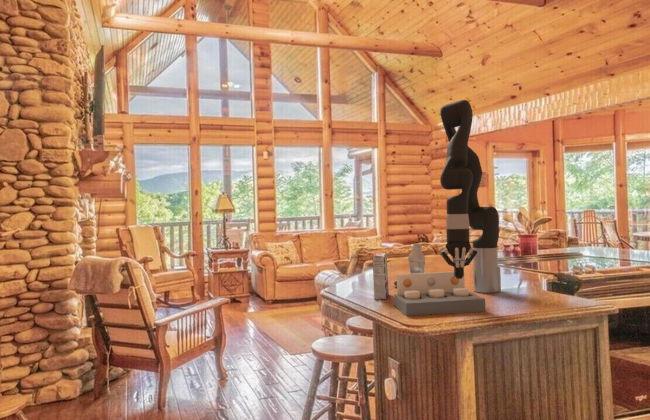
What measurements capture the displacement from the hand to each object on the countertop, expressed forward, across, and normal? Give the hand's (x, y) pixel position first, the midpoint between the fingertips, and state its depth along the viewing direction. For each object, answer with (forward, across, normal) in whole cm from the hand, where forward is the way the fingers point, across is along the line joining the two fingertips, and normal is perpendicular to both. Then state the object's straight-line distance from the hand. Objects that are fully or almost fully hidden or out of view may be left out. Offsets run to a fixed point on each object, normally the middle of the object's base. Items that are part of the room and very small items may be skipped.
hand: (459, 278), depth 162 cm
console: (+10, +8, +1) cm, 13 cm away
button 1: (+7, +16, 0) cm, 18 cm away
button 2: (+6, -1, 0) cm, 7 cm away
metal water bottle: (+10, +9, -19) cm, 23 cm away
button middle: (+7, +8, 0) cm, 10 cm away
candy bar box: (+10, +22, -24) cm, 34 cm away
